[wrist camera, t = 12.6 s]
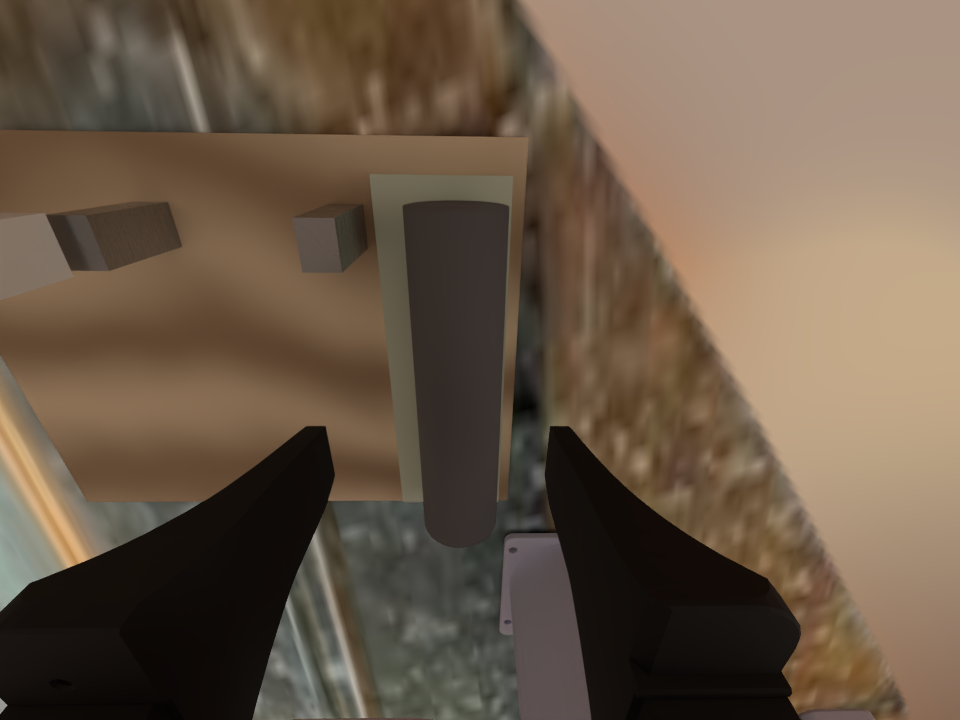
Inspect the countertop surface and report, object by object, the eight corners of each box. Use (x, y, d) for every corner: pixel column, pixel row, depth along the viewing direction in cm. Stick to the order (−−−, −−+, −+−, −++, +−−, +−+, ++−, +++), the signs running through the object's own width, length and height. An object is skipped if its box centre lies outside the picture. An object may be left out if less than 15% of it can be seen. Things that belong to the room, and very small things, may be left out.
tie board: (506, 491, 22) (513, 558, 19) (97, 493, 22) (21, 561, 18) (526, 137, 14) (545, 133, 11) (-111, 128, 14) (-316, 120, 10)
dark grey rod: (477, 482, 21) (508, 531, 19) (415, 503, 20) (439, 559, 17) (481, 198, 15) (529, 210, 12) (390, 202, 14) (422, 215, 11)
